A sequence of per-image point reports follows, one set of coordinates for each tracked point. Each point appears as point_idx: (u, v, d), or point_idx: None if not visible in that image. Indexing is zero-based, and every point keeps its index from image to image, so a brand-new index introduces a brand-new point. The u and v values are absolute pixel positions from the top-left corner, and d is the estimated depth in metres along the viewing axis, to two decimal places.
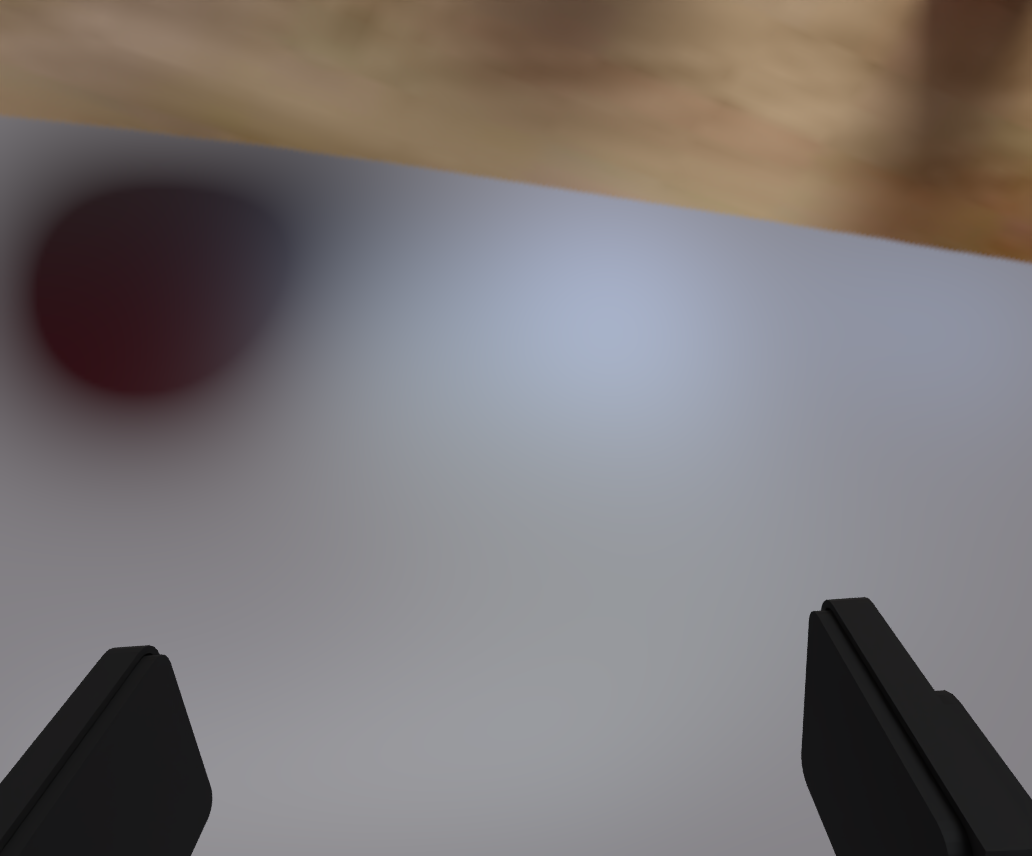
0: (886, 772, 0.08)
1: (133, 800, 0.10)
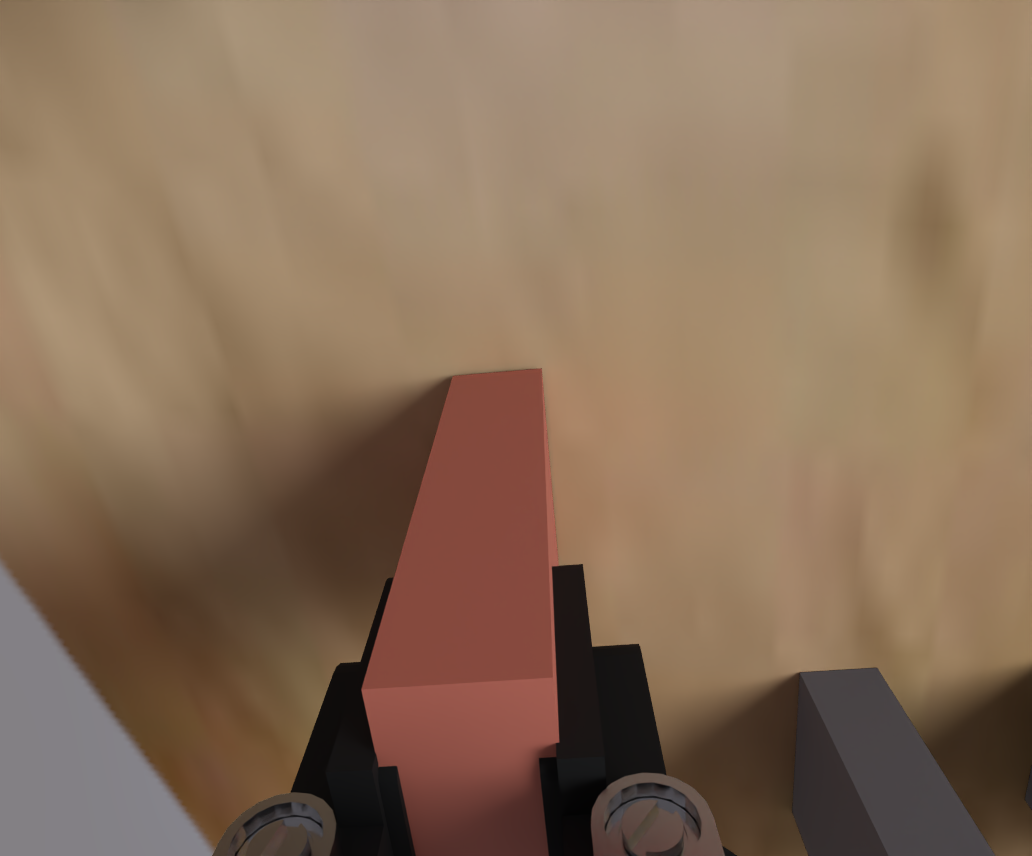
0: None
1: None
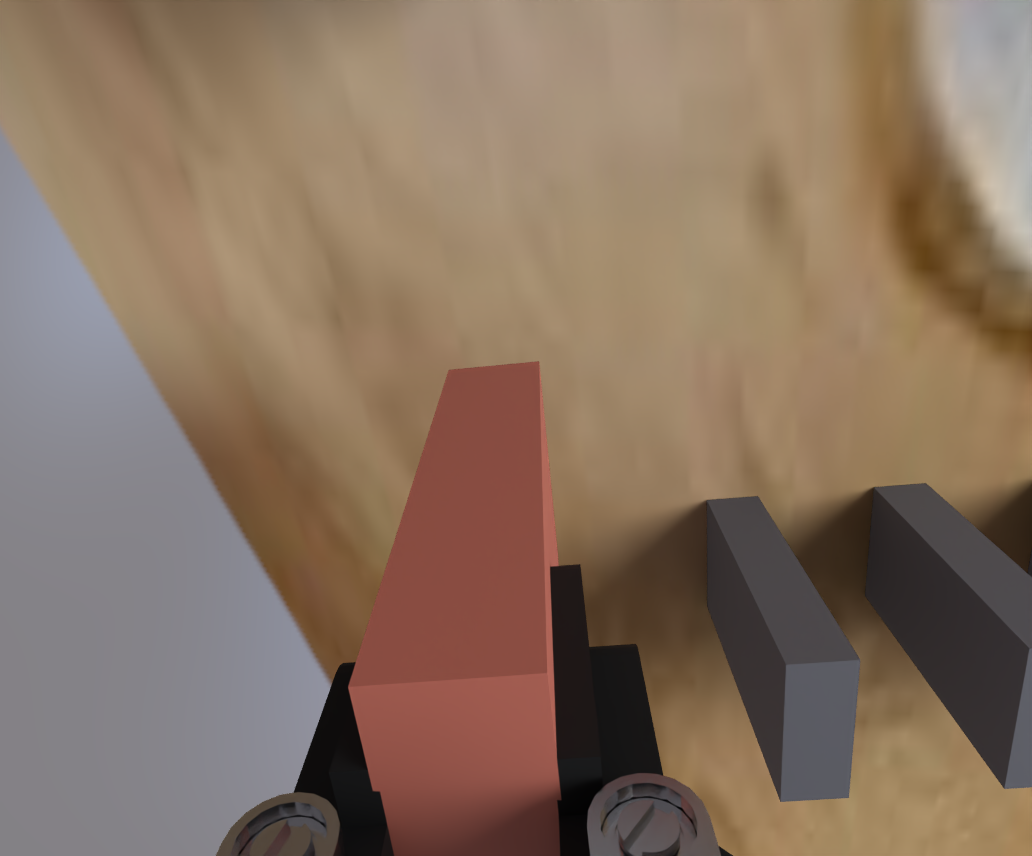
0: None
1: None
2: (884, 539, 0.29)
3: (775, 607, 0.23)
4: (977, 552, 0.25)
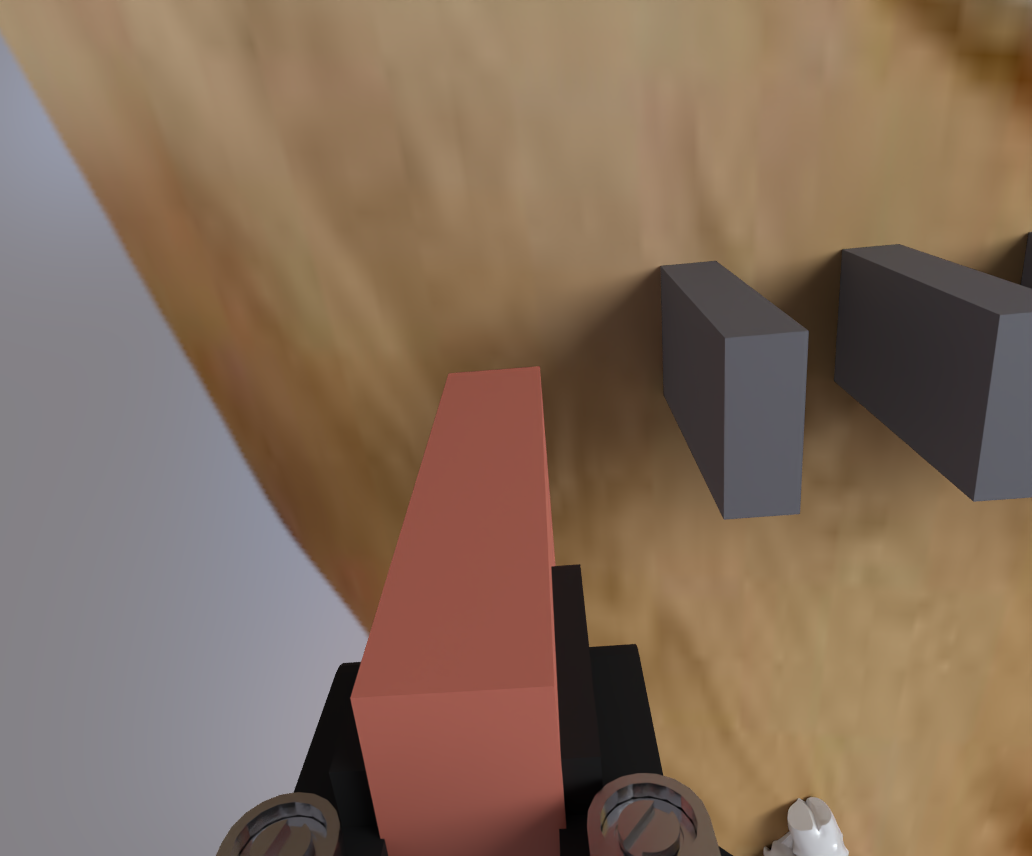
0: None
1: None
2: (852, 301, 0.27)
3: (720, 311, 0.21)
4: (949, 272, 0.23)
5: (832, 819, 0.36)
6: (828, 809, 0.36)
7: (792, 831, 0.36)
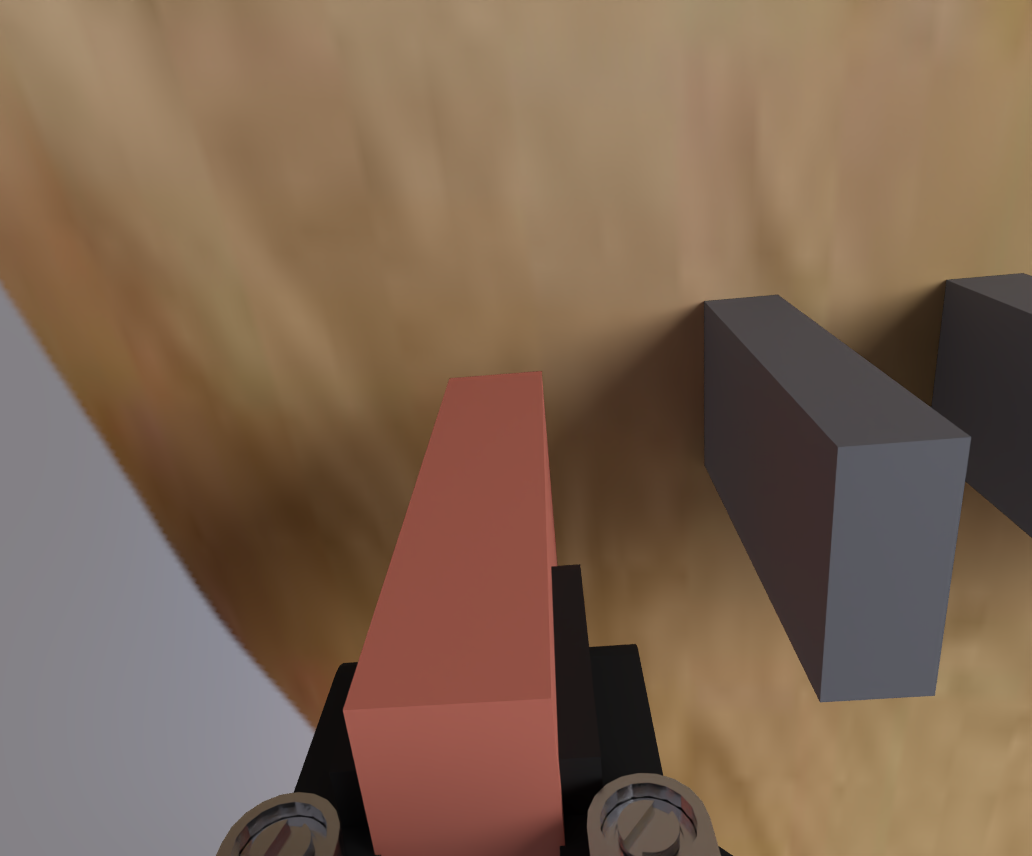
0: None
1: None
2: (962, 350, 0.20)
3: (813, 388, 0.14)
4: None
5: None
6: None
7: None
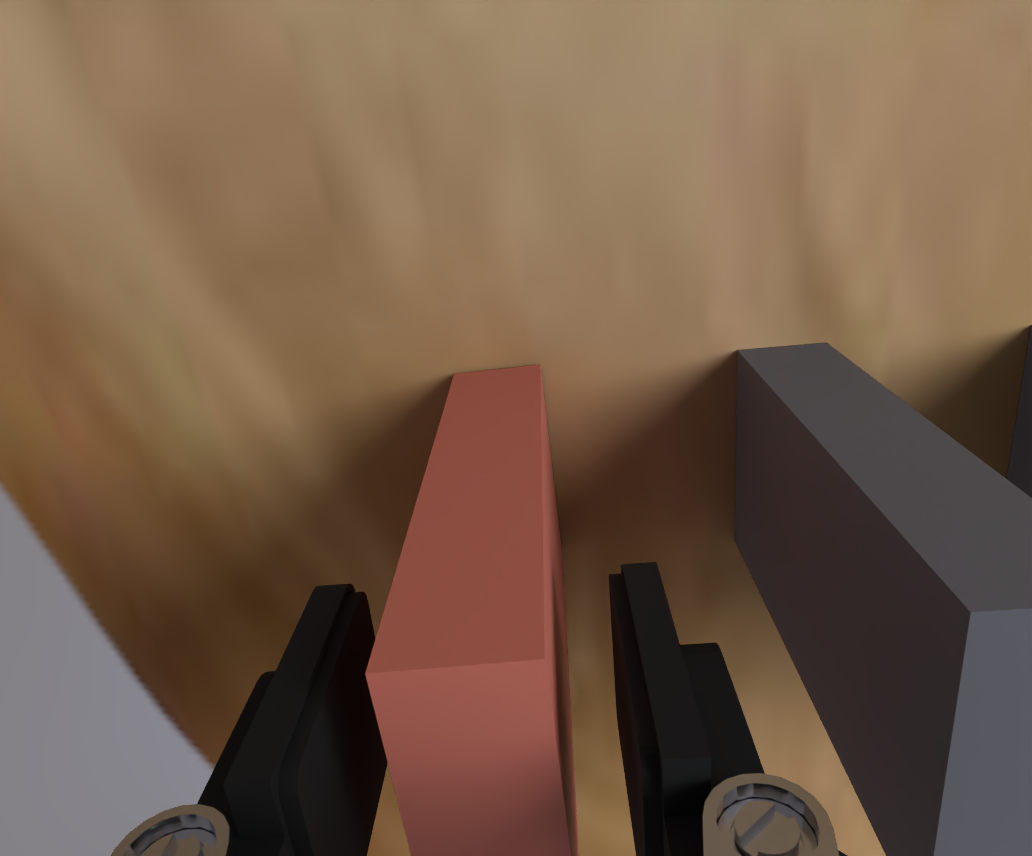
0: (628, 706, 0.09)
1: (355, 718, 0.11)
2: None
3: (905, 495, 0.11)
4: None
5: None
6: None
7: None
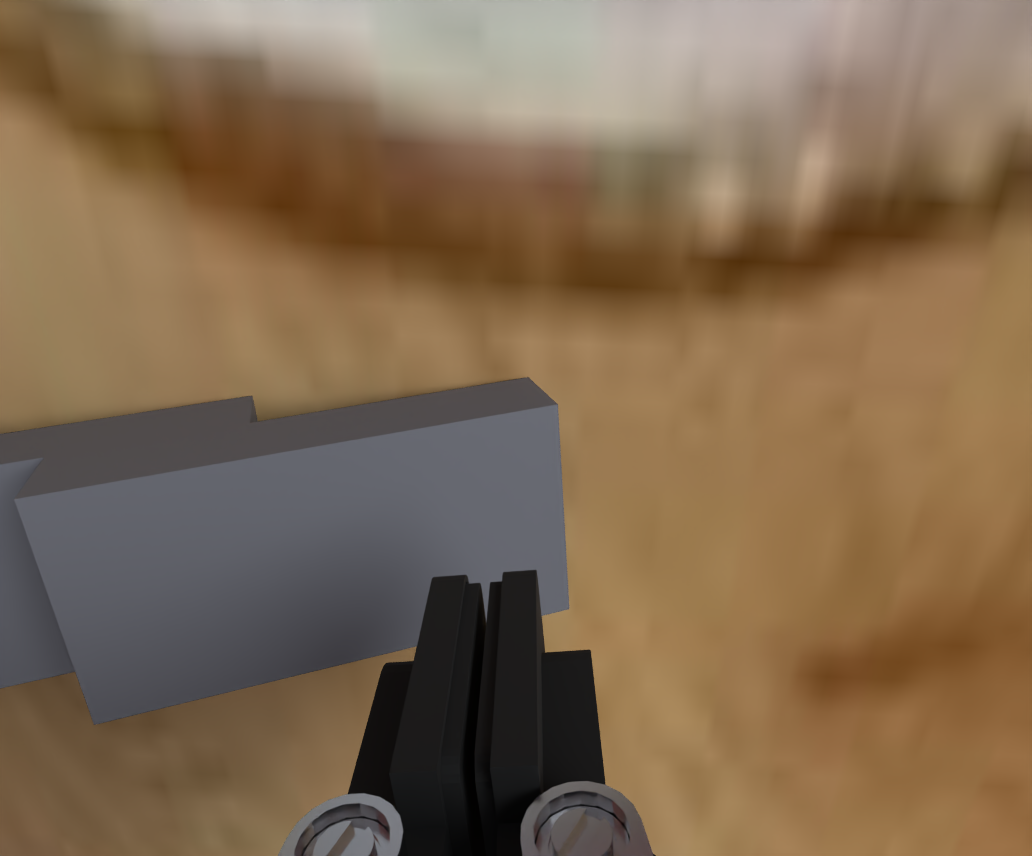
0: None
1: None
2: None
3: None
4: None
5: None
6: None
7: None
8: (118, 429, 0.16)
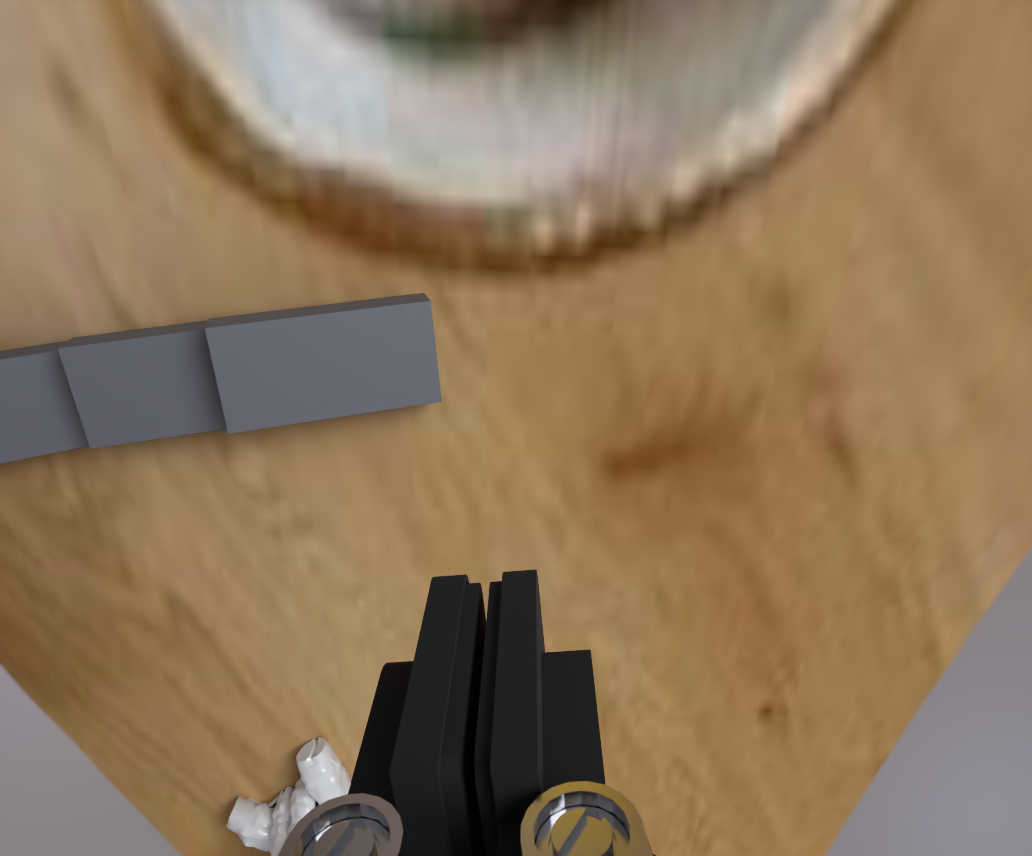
0: None
1: None
2: None
3: None
4: None
5: (323, 752, 0.47)
6: (324, 745, 0.47)
7: (297, 762, 0.47)
8: None
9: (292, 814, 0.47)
